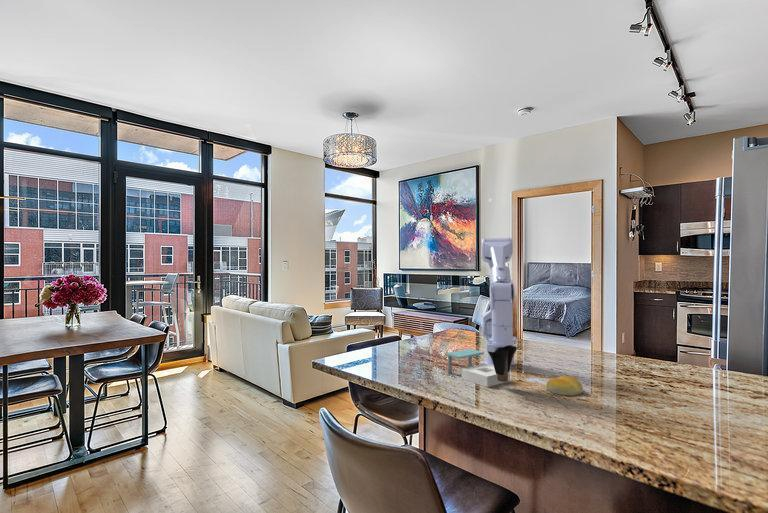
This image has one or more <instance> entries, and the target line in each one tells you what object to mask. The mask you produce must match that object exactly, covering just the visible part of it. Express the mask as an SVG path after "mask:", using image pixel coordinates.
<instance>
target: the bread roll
mask: <svg viewBox="0 0 768 513" xmlns="http://www.w3.org/2000/svg"><path fill="white" fill-rule="evenodd" d="M546 388H547V390H548V391H549V392H550V393H551V394H552V393H553V394H555V395H559V396H568V397H570V396H577V395H580V394H582V393H583V391H584V388H583V385H582V383H581V382H580V381H579V380H578V379H577V378H575V377H572V376H568V375H561V376H559V377H553V378H550V379H549V380H548V381H547V382H546Z"/></svg>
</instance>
